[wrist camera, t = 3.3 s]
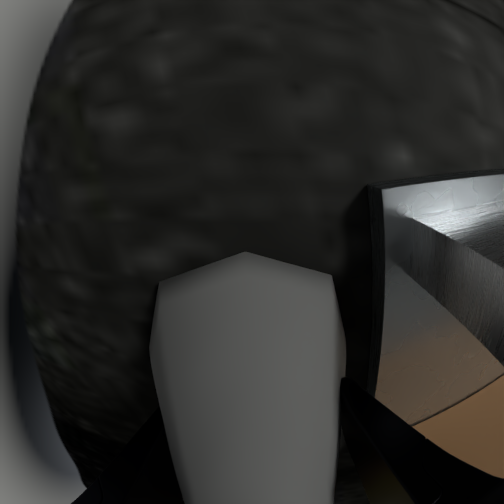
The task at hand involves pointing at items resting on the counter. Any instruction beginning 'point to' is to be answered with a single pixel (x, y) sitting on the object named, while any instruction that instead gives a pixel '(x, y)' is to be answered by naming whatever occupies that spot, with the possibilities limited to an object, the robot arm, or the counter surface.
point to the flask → (250, 381)
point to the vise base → (436, 290)
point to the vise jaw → (472, 429)
